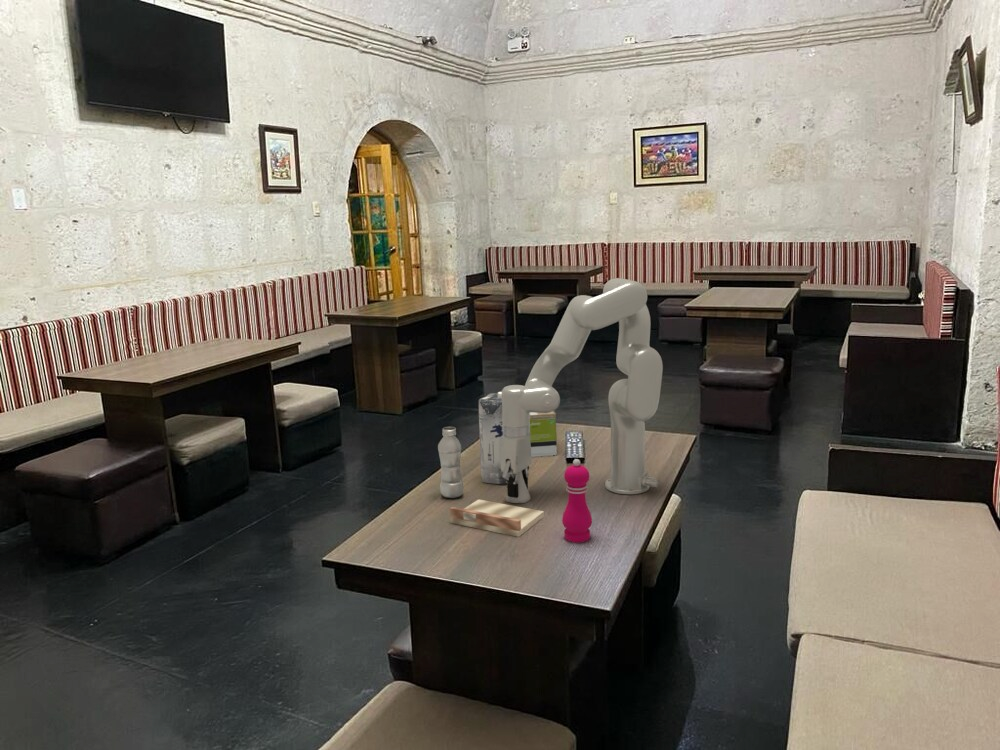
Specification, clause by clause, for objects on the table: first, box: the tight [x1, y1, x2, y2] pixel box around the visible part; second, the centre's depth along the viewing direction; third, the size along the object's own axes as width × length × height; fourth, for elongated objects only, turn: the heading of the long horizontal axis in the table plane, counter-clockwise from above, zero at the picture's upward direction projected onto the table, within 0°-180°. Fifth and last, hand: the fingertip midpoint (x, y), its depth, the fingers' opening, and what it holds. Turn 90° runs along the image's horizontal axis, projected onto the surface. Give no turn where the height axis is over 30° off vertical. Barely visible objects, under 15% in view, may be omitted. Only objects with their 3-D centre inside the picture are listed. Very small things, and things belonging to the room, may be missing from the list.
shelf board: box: [449, 498, 545, 538], centre depth 195 cm, size 20×14×4 cm
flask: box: [505, 471, 531, 504], centre depth 208 cm, size 7×7×10 cm
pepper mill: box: [561, 458, 593, 544], centre depth 181 cm, size 7×7×20 cm
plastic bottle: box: [437, 426, 465, 499], centre depth 211 cm, size 6×7×20 cm
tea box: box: [530, 410, 558, 458], centre depth 251 cm, size 15×10×15 cm, turn 6°
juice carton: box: [478, 391, 513, 485], centre depth 223 cm, size 9×10×27 cm
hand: (517, 492), depth 208 cm, fingers closed on flask, 4 cm apart
